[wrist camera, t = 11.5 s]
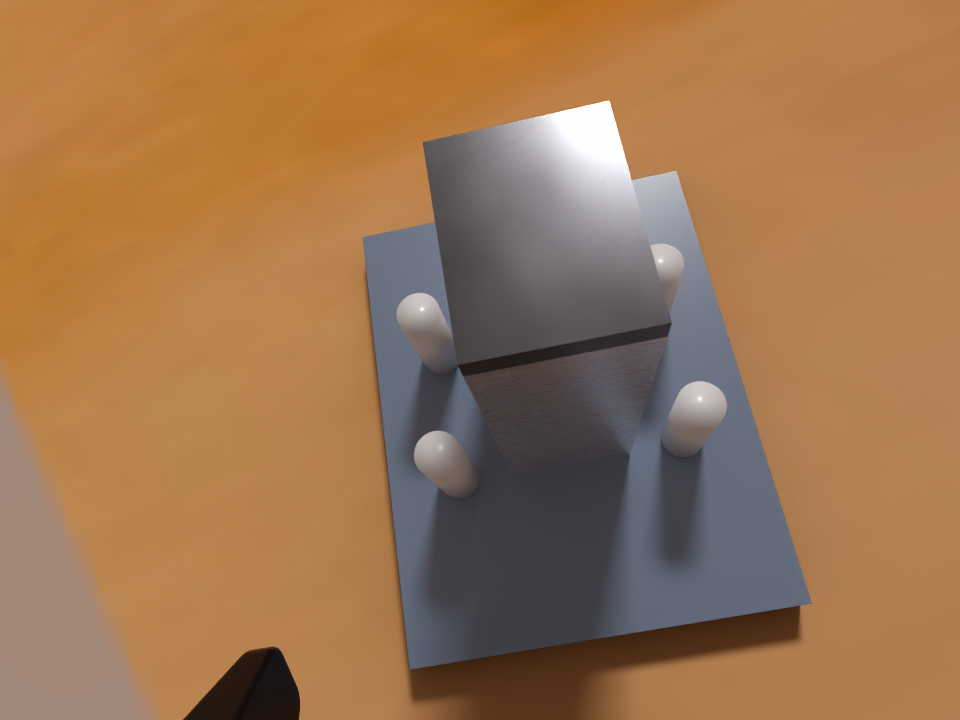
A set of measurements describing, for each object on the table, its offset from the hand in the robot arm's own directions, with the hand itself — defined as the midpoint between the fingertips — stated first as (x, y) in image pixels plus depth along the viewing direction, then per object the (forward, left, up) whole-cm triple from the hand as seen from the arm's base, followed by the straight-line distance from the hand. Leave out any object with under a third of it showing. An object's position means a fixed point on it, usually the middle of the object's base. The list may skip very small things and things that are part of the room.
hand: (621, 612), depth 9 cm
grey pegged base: (+3, +5, -12) cm, 13 cm away
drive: (+3, +5, -11) cm, 13 cm away
